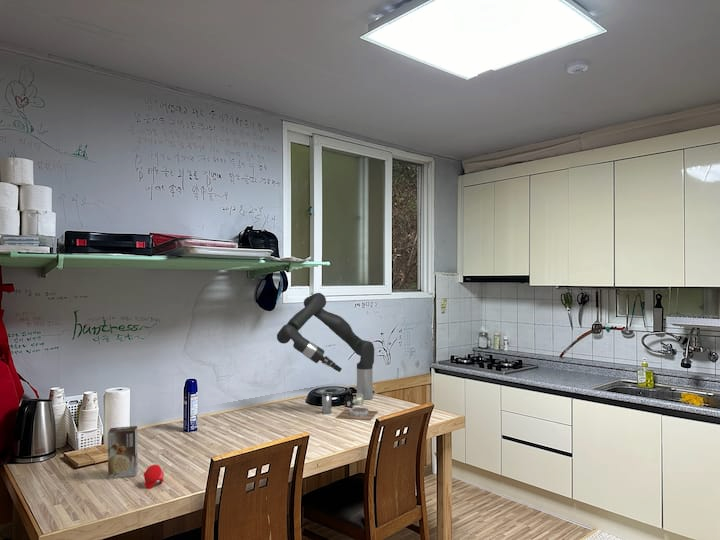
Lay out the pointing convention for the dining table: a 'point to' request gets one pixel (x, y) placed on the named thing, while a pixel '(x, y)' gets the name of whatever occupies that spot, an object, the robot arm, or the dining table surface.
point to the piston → (326, 403)
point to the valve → (357, 400)
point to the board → (346, 415)
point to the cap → (153, 476)
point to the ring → (359, 412)
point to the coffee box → (122, 452)
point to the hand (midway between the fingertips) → (339, 369)
